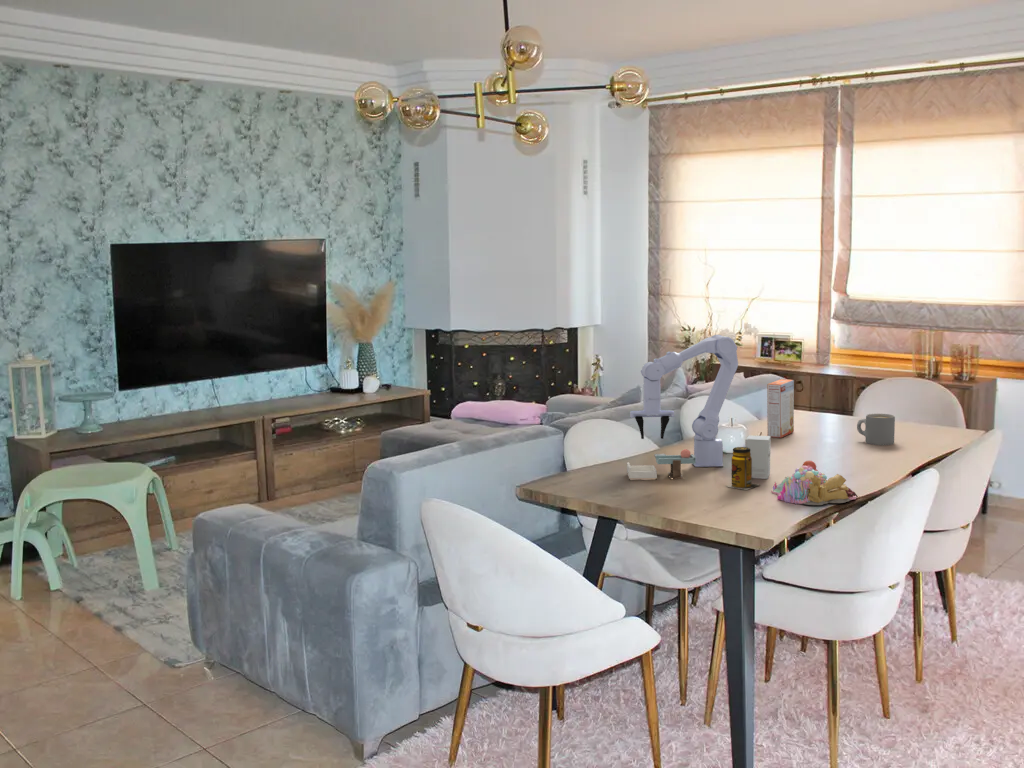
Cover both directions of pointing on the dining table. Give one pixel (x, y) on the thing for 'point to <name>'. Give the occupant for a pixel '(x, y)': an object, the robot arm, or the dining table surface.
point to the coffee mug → (878, 429)
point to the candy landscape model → (813, 487)
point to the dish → (641, 471)
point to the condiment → (742, 469)
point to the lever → (669, 459)
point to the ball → (685, 453)
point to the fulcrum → (676, 470)
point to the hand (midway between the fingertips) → (652, 438)
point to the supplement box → (759, 455)
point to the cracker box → (780, 408)
